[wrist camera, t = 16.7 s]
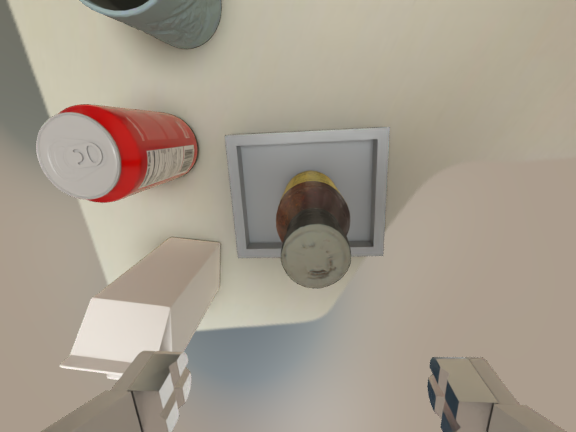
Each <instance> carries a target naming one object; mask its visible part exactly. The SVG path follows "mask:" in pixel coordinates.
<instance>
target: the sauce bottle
mask: <svg viewBox="0 0 576 432" xmlns="http://www.w3.org/2000/svg"><path fill="white" fill-rule="evenodd" d="M350 221H351V220H350V212H349V208H348V205H347V203H346V201H345V200H344V198H343V196H342V195H341V194H340V192H339V191H338V189H337V188H336V186H335V185H334V183H333V182H332V180H331V179H330V178H329V177H328V176H326V175H325V174H323V173H320V172H317V171H305V172H302V173H299V174H297V175H296V176H294V177H293V178H292V179H291V180H290V182H289V183H288V185H287V186H286V189H285V191H284V193H283V196H282V198H281V200H280V204H279V206H278V210H277V214H276V229H277V232H278V235H279V238H280V240H281V241H282V243H283V244H282V248H281V262H282V265H283V268H284V270H285V271H286V273H287V274H288V276H289V277H290V278H291V279H292V280H293V281H295V282H296V283H297V284H300V285H302V286H304V287H308V288H323V287H326V286H329V285H331V284H334V283H335V282H337V281H338V280H340V279H341V278H342V277H343V276H344V274H345V273H346V272H347V271H348V268H349V266H350V262H351V249H350V245H349V241H348V238H347V234H348V232H349V228H350Z"/></svg>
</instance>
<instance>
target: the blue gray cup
mask: <svg viewBox="0 0 576 432" xmlns="http://www.w3.org/2000/svg"><path fill="white" fill-rule="evenodd" d="M79 1H81V2H82V3H83V4H84V5H86V6H87V7H89V8H91V9H92V10H94V11H96V12H99V13H101V14H103V15H106V16H108V17H110V18H113V19H115V20H117V21H120V22H123V23H125V24H127V25H129V26H131V27H134V28H136V29H138V30H143V31H144V32H145V33H147V34H150V35H152V36H154V37H155V38H157V39H159V40H161V41H164V42H165V43H167V44H170V45H172V46H174V47H177V48H184V49H187V48H194V47H197V46H200V45H202V44H204V43H205V42H206V41H208V40H209V39H210V38H211V36H212V35H213V34H214V32H215V31H216V28H217V26H218V24H219V20H220V16H221V0H79Z"/></svg>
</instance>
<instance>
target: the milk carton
mask: <svg viewBox="0 0 576 432" xmlns="http://www.w3.org/2000/svg"><path fill="white" fill-rule="evenodd" d="M219 287H220V243H219V242H211V241H202V240H193V239H184V238H175V237H170V238H169V239H167V240H166V241H165V242H163V243H162V244H161V245H160V246H158V247H157V248H156V249H154V250H153V251H152V252H151V253H149V254H148V255H147V256H145V257H144V258H143V259H142V260H140V261H139V262H138V263H137V264H135V265H134V266H133V267H131V268H130V269H129V270H128V271H126V272H125V273H124V274H122V275H121V276H120V277H119V278H117V279H116V280H115V281H113V282H112V283H111V284H110V285H108V286H107V287H106V288H104V289H103V290H102V291H101V292H99V293H98V294H97V295H96V296H94V297H93V298H91V300H90V303H89V306H88V308H87V311H86V314H85V316H84V319H83V322H82V324H81V327H80V330H79V332H78V335H77V337H76V340H75V343H74V345H73V348H72V351H71V353H70V355H69V356H68V357H67V358H66V359H65V360H64V361H63V362H62V363H61V364H60V365H59V366H60V367H61V368H68V369H76V370H84V371H91V372H99V373H107V378H108V379H115V380H119V378H120V377H121V376H122V375H123V373H124V372H125V371H126V369H127V368H128V367H129V365H130V364H131V363H132V362H133V360H134V359H135V358H136V356H137V355H138V354H139V353H140V352H142V351H170V352H184V350H185V348H186V347H187V345H188V343H189V341H190V339H191V338H192V336H193V334H194V332H195V331H196V329H197V327H198V325H199V324H200V322H201V320H202V318H203V316H204V315H205V313H206V311H207V309H208V308H209V306H210V304H211V302H212V300H213V299H214V297H215V295H216V293H217V292H218V290H219Z"/></svg>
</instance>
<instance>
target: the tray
mask: <svg viewBox="0 0 576 432" xmlns="http://www.w3.org/2000/svg"><path fill="white" fill-rule="evenodd" d="M389 134H390V127H376V128H356V129H337V130H317V131H298V132H278V133H259V134H239V135H225V143H226V152H227V161H228V170H229V180H230V189H231V198H232V207H233V216H234V225H235V234H236V244H237V253H238V258H275V257H281V248H282V244H283V243H282V241H281V240H280V238H279V235H278V232H277V229H276V214H277V210H278V206H279V204H280V200H281V198H282V196H283V193H284V191H285V189H286V186H287V185H288V183H289V182H290V180H291V179H292V178H293V177H294V176H296V175H297V174H299V173H302V172H305V171H317V172H320V173H323V174H325V175H326V176H328V177H329V178H330V179H331V180H332V182H333V183H334V185H335V186H336V188H337V189H338V191H339V192H340V194H341V195H342V196H343V198H344V200H345V201H346V203H347V205H348V208H349V212H350V220H351V221H350V228H349V232H348V234H347V238H348V241H349V245H350V249H351V256H383V251H384V231H385V212H386V192H387V173H388V153H389Z"/></svg>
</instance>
